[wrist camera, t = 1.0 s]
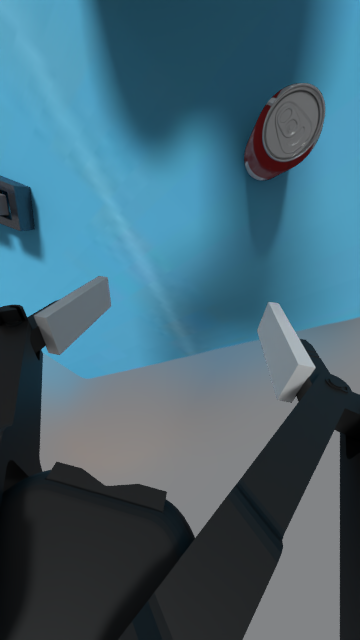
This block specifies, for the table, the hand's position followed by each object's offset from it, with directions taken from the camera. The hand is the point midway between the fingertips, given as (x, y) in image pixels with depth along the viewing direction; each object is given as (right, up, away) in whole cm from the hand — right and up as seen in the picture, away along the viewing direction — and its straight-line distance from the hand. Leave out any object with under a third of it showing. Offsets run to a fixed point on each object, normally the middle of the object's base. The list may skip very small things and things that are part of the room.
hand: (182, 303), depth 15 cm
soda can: (+13, +24, +13) cm, 30 cm away
